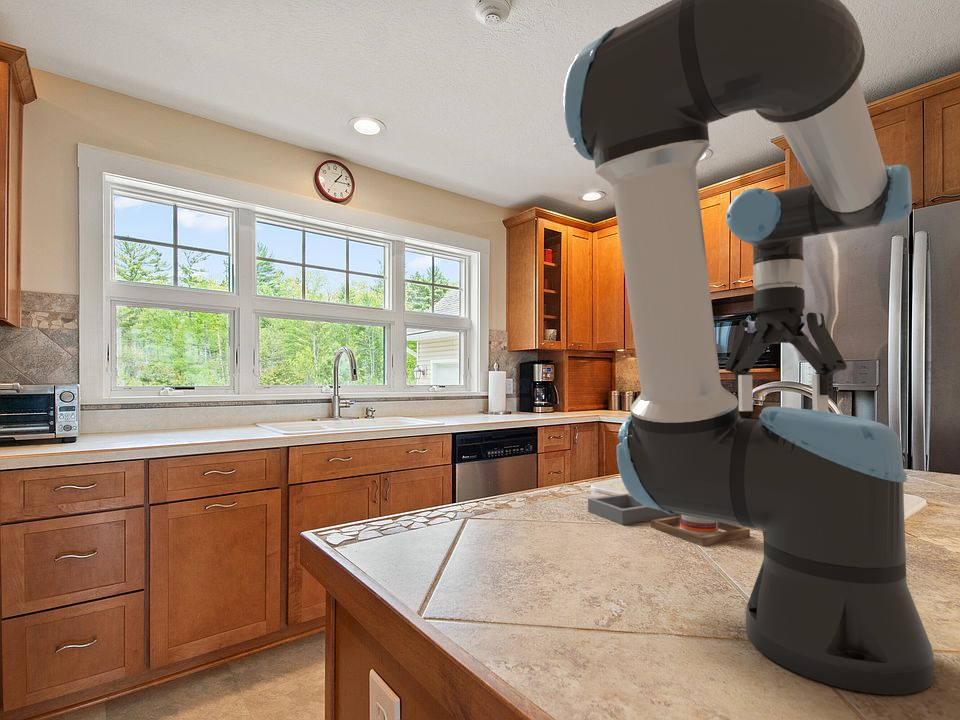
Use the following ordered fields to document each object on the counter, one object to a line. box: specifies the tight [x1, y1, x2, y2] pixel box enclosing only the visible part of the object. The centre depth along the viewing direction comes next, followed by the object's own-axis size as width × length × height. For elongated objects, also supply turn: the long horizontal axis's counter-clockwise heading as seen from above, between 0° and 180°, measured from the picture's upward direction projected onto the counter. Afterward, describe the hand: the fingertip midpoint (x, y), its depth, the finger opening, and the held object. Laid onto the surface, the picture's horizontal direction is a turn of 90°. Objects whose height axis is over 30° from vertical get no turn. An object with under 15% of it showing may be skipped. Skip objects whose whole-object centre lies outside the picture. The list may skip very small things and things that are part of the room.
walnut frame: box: [650, 515, 751, 547], centre depth 89 cm, size 11×11×1 cm
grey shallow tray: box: [587, 492, 680, 525], centre depth 102 cm, size 20×10×2 cm, turn 115°
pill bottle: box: [679, 515, 719, 536], centre depth 89 cm, size 6×6×11 cm
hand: (780, 413), depth 87 cm, fingers open, 13 cm apart
